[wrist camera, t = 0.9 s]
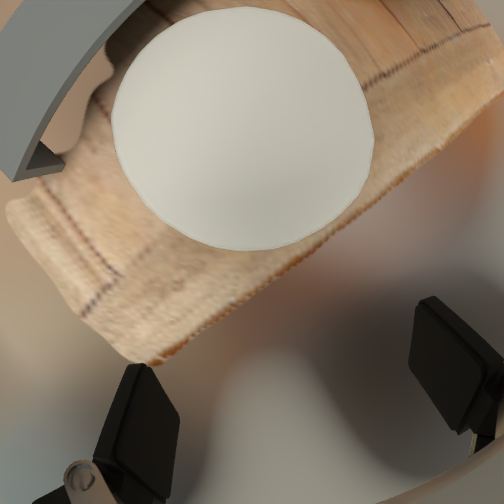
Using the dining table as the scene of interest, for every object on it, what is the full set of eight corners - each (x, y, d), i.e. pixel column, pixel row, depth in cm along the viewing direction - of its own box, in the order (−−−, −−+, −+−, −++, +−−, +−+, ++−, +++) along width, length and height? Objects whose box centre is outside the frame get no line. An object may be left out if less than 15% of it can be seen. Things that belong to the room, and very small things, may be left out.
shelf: (163, -68, 17) (150, -105, 8) (246, -35, 21) (251, -80, 12) (3, 116, 25) (-43, 116, 15) (61, 171, 29) (12, 182, 20)
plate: (63, 127, 23) (242, -34, 18) (92, 133, 29) (244, -6, 25) (244, 314, 28) (430, 139, 23) (246, 289, 34) (402, 143, 29)
